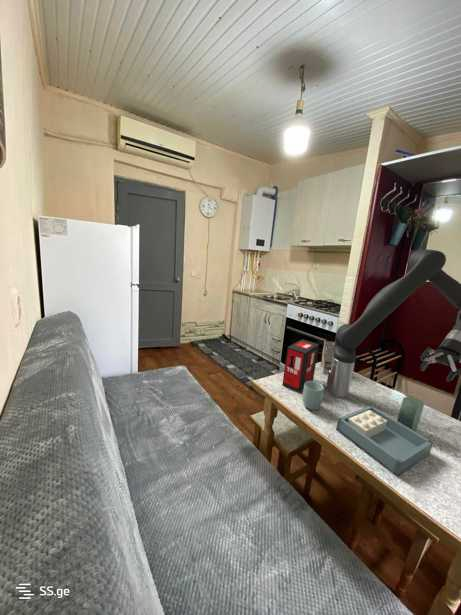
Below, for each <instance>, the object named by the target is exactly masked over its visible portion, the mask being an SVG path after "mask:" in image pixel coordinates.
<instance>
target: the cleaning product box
mask: <svg viewBox="0 0 461 615" xmlns="http://www.w3.org/2000/svg"><path fill="white" fill-rule="evenodd" d="M319 347H320V344H319V343H316V342H313V341H309V340H306V339H301V340H298V341H297V342H294V343H293V344H291V345H289V346H288V347H287V349H286V354H285V355H286V356H285V363H284V364H285V365H284V368H283V369H284V370H283V378H282V384H281V386H282V387H285V388H287V389H289V390H290V391H293V392H295V393H296V392H297V394H300V393H301V392H302V391H303V389H304V384H305V382H307V381H314V377H315V372H316V364H317V358H318V355H319V354H318V353H319Z"/></svg>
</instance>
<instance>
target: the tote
mask: <svg viewBox="0 0 461 615" xmlns="http://www.w3.org/2000/svg"><path fill="white" fill-rule="evenodd" d="M368 410H371V411H373V412H374V413H375V414H377V415H379V416H381V417H382V418H383V419H385V420H387V424H386V428H385V430H384V431H382V432H380V433H378V434H376V435H374V436H372V437H370V438H369V437H367V436H366V435H364V434H363V433H362V432H360V431H359V430H357V429H356V428H355V427H353V426H352V425H350V424H349V423H348V419H349V418H351V417H353V416H356V415H358V414H361V413H363V412H366V411H368ZM335 430H336V431H337V432H338V433H339V434H341V435H342V436H343V437H344V438H346V439H347V440H349V441H350V442H351V443H352V444H354V445H355V446H356V447H357V448H359V449H360V450H362V452H364V453H365V454H367V455H368V456H369V458H372V459H373V460H374V461H376V462H377V463H378V464H379V465H381V467H383V468H385V469H386V470H387V471H389V473H391V474H392V475H394V476H395V477H399V476H401V475H402V474H403V473H405V472H407V471H408V470H410V469H411V468H412V467H414V466H415V465H416V464H418V463H420V462H421V461H423V460H424V459H425V458H427V457H428V456H430V453H431V451H432V447H433V444H434V442H433V441H431V440H429V439H428V438H426V437H425V436H423V435H422V434H420V433H418V432H417V431H416V432H415V431H413V430H411V429H410V428H408V427H406V426H405V425H403V424H401V423H399V422H398V421H397V420H396V419H394V418H392V417H391V416H389V415H388V414H386V413H385V412H382V411H381V410H379V409H377V408H376V407H374V406H373V405H367V406H366V407H364V408H361V409H359V410H356V411H353V412H351V413H347V414H346V415H343V416H341V417H338V418H337V423H336V428H335Z"/></svg>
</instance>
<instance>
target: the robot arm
mask: <svg viewBox="0 0 461 615" xmlns="http://www.w3.org/2000/svg"><path fill="white" fill-rule="evenodd" d="M446 262H447V257H446V254H445V253H443V252H442V251H439V250H438V249H437V250H436V249H427V248H426V249H425V248H424V249H418V250H416V251H414V252H413V253H412V254H410V256H409V260H408V263H409V266H410V268H411V269H410V270H409V271H408V272H407V273H406V274H405V275H403V276H402V277H400V278H399V279H397V280H394V281H393V282H391V283H390V284H389V283H388V284H387V285H386V286H384V287H383V288H382V289H381V290H379V291H378V292H377V293H376V294H375V295H374V296H373V298H371V300H370V301H369V302H368V304H367V305H366V308H365V309H364V311H363V312H362V314H361V315H360V317H358V319H357V320H356V321H354V323H352V324H350V323H344V324H342V325H340V326H339V327H338V328H337V330H336V333H335V340H334V342H335V344H334V356H333V362H332V367H331V370H330V371H329V373H328V374H327V378H326V379H327V380H326V386H325V390H326V391H327V392H328V393H329V394H330V395H331V396H334V397H337V398H343V399H344V398H348V397H349V393H350V387H351V383H352V377H353V373H354V369H355V363H356V357H357V355H356V348H357V347H358V346H359V345H360V344H361V343H363V342H364V340H365V339H366V338H367V337H368V335H369V334H370V333H371V332H372V331H373V330H374V329H375V328H376V327H377V326H378V325H379V324H381V323H382V322H383V321H384V320H385V319H386V318H387V317H388V316H390V314H392V313H393V312H394V311H395V310H396V309H397V308H398V307H399V306H401V304H402V303H403V302H404V301H405V300H407V298H409V297H410V296H411V295H412V294H414V292H415V291H417V289H419V287H421V286H422V285H424V284H425V283H426V282H427V281H429V283H431V284H432V285H433V287H435V288H436V289H437V290H438V291H439V292H440V293H441V294H442V295H443V296H444V297H445V298H446V299H447V300H448V301H449V303H451V304H452V306H453V307H454V308H456V309H459V311H458V312H457V316H456V322H455V325H454V326H453V328H452V329H451V330H450V331H449V333H447V335H446V336H445V338H444V339H443V340H442V342H441V343H440V345H439V346H438V348H437V349H436V350H434V349H432V348H431V347H429V346H427V347H426V348H425V350H424V351H423V352H422V353H421V355H420V356H419V358H420V360H421V362H422V363H421V364H420V366H419V368H420V371H421V372H425V370H426V369H427V367H428V366H429V364H435V363H438V364H442V365H444V366H445V367H448V366H450V368H451V370H450V372H449V373H448V374H447V376H446V378H445V380H446V382H451V381H453V380H454V378H455V377H456V376H457V375H459V376H461V367H460V368H459V369H457V367H456V365H457V364H461V283H460V282H459V281H458V280H456V279H455V278H453V277H452V276H451V275H449V274H448V273H447V272H446V271H444V270H443V268H444V266H445V265H446Z"/></svg>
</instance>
